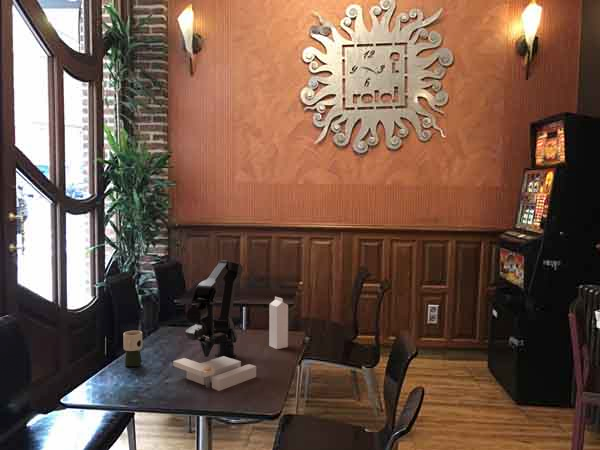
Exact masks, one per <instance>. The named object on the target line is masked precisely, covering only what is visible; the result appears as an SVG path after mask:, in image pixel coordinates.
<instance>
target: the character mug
mask: <svg viewBox="0 0 600 450" xmlns="http://www.w3.org/2000/svg"><path fill="white" fill-rule="evenodd" d="M122 336H123V337H122V338H123V344H122V345H123V350H124V351H126V353H125V359H124V360H125V361H124V365H125V366H128V367H138V366H141V365H142V362H143V361H142V354H141V351H140V350H141V349H143V331H140V330H129V331H125V332H123V335H122Z"/></svg>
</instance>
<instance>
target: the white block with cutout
mask: <svg viewBox="0 0 600 450" xmlns="http://www.w3.org/2000/svg"><path fill="white" fill-rule="evenodd" d="M200 363H201V364H203V365H206V366H209V367H212V368H213V369H215V374H213V375H210V376H208V377H204V376H199V375H196V374H194V373H191V372H188V371H186V379H187V380H189V381H193V382H195V383H198V384H200V385H203V386H205V388H210V387H211V388H212V389H213V390H215V391H218V392H220V391H223V390H226V389H228V388H231V387H234V386H236V385H239V384H241V383H243V382H246V381H249V380H252V379H254V378H257V366H256V365H254V364H250V363H248V364H245V365H243V366H242V361H241V360H238V359H234V358H231V357H229V358H228V357H225V356H222V357H216V358H212V359H209V360H207V361H204V362H200ZM236 367H239V368H236ZM234 368H236V369H234ZM231 369H233V370H231ZM229 370H231V371H229ZM226 371H228V372H226ZM224 372H225V373H224Z"/></svg>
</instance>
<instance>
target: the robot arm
mask: <svg viewBox="0 0 600 450" xmlns="http://www.w3.org/2000/svg"><path fill="white" fill-rule="evenodd" d="M243 271H244V266H243V265H242V264H241V263H240V262H233V261H231V260H229V259H228V260H225V259H224V260H223V259H220V260H218V261H217V264H216V266H215V267H214V269H212V272H211V273H210V275H209V276H208V277H207V278H206V279H204V280H202V281H200V282H199V283H198V284H197V285H196V287H195V289H194V293H193V295H192V299H191V307H190V308H188V310H187V312H186V318H187V320H188V321H189V323H192V324H194V325H191V326H190V327H187V328H186V329H185V336H186V338H187V339H188V340H192V341H197V342H198V343H199V345H200V347H201V350H202V353H203V355H204V357H205V358H208V357H209V356H210V354H211V351H212V349H213V347H214V345H217V353H214V356H215V357H217V358H219V357H222V356H225V357H228V358H231V357H234V356H237V354H236V353H234V351H235V348H234V347H235V346H234V343H237V341H238V333H237V332H236V330H235V324H234V322H233V319H232V314H233V309H234V300H235V295H236V294H235V293H236V286H237V284H238V282H240V280H241V278H242V274H243ZM222 280H223V281H224V284H223V285H224V286H223V293H222V298H221V305H220V310H219V317H218V318H215V307H214V306H215V305H214V304H215V303H216V297H217V295H218V292H219V290H218V286H219V285H220V284H221V282H222Z"/></svg>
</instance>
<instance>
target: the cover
mask: <svg viewBox="0 0 600 450" xmlns="http://www.w3.org/2000/svg"><path fill="white" fill-rule="evenodd" d="M172 362H173V367H174V368H177V369H181V370H183V371H186V372H187V371H188V372H191V373H194V374H196V375H199V376H204V377H208V376H210V375H213V374H215V369H213V368H212V367H209V366H206V365H203V364H201V363H202V362H197V361H194V360H192V359H188V358H186V357H182V358H179V359H176V360H173V361H172Z"/></svg>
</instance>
